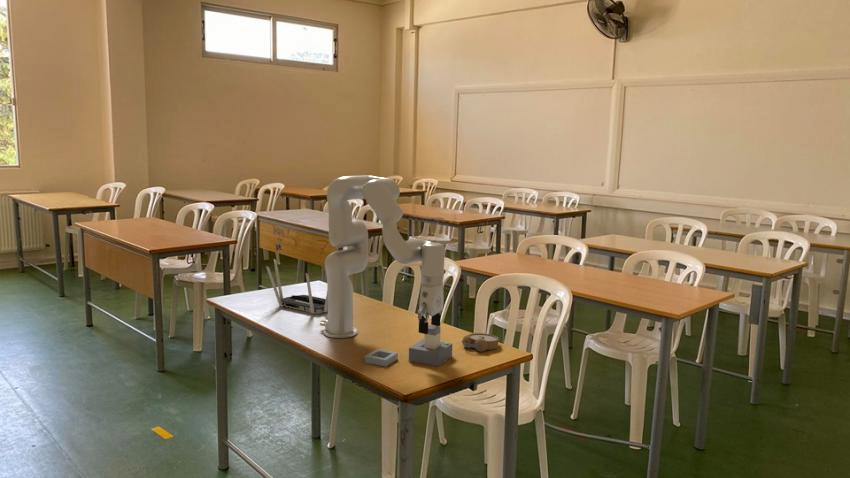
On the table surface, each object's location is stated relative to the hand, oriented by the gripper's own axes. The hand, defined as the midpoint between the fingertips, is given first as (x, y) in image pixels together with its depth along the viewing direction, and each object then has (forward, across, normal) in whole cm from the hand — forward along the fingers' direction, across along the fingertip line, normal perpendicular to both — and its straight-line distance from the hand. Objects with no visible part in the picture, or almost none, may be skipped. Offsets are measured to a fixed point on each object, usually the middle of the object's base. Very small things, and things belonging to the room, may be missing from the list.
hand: (429, 329), depth 212 cm
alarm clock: (+10, +19, -12) cm, 25 cm away
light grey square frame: (+10, -10, +12) cm, 19 cm away
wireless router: (+13, +29, +72) cm, 79 cm away
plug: (+9, 0, -2) cm, 9 cm away
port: (+10, 0, -1) cm, 10 cm away
